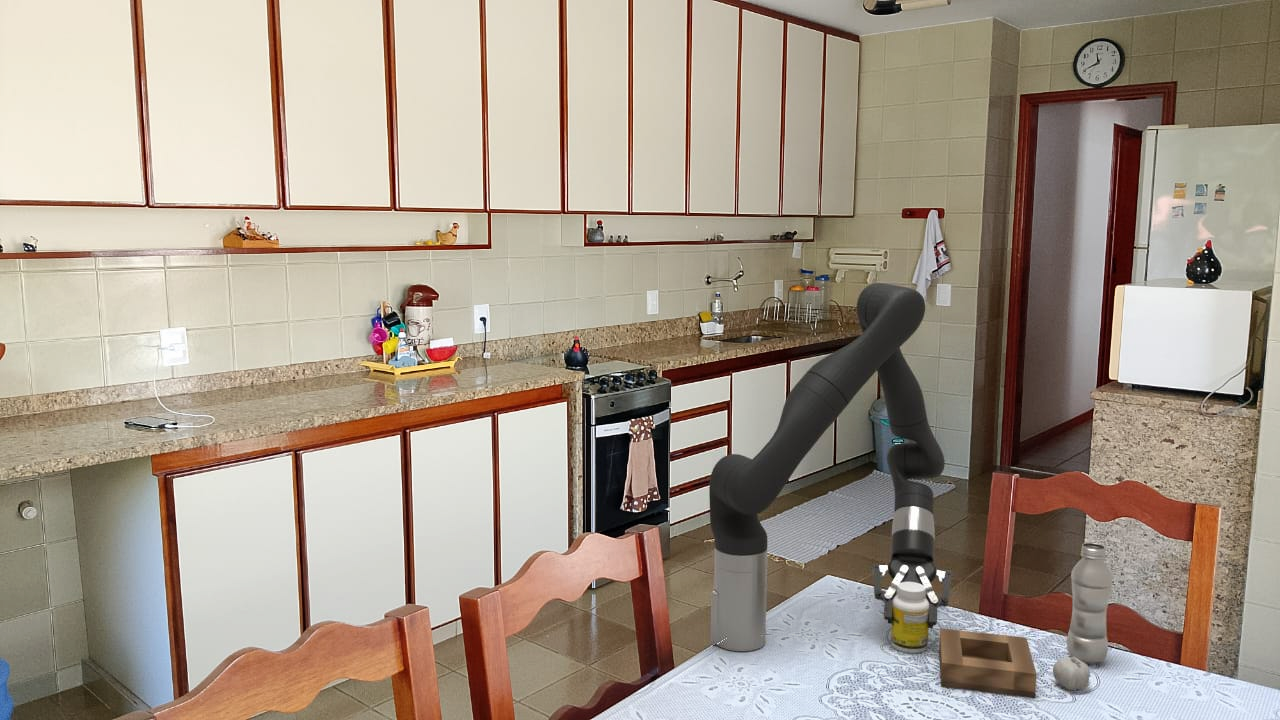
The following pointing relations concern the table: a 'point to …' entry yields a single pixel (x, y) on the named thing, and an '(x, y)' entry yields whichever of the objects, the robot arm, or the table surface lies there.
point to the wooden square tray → (986, 663)
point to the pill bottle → (910, 618)
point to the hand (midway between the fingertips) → (910, 623)
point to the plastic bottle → (1089, 605)
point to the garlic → (1071, 673)
